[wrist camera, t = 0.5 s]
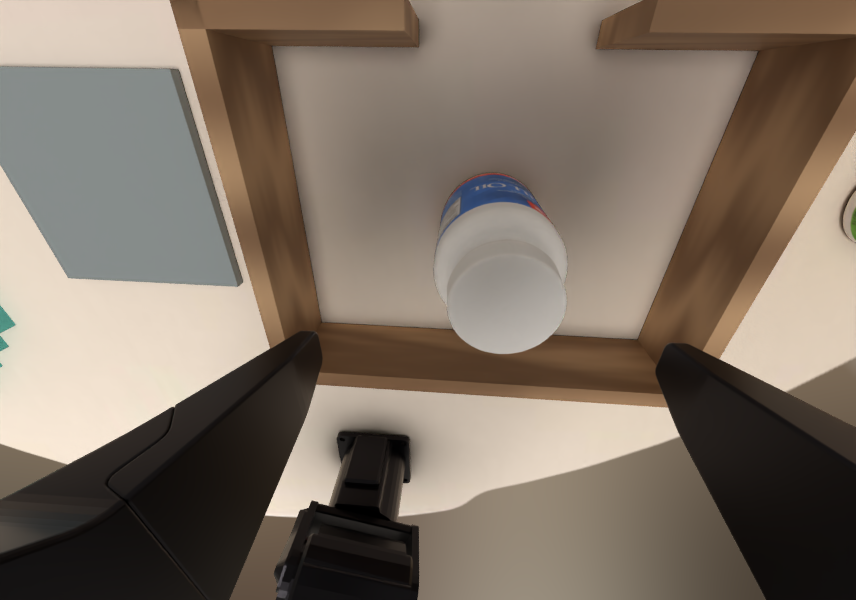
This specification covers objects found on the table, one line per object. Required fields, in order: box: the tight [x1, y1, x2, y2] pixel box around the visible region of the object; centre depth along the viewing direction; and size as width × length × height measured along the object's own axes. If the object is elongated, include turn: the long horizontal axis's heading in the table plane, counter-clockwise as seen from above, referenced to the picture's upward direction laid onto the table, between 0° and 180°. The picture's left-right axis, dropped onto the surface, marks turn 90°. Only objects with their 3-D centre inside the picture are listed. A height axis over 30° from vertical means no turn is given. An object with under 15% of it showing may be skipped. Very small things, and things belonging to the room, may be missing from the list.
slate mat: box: [0, 67, 243, 287], centre depth 20 cm, size 12×12×1 cm
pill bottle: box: [433, 173, 568, 354], centre depth 16 cm, size 6×5×10 cm
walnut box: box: [170, 0, 856, 407], centre depth 18 cm, size 18×24×5 cm
